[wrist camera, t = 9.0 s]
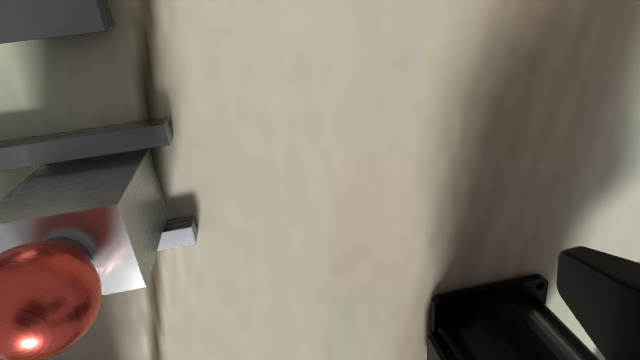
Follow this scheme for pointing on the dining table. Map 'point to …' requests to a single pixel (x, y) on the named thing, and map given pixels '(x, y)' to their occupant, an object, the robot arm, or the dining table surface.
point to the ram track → (96, 145)
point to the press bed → (51, 18)
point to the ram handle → (74, 247)
